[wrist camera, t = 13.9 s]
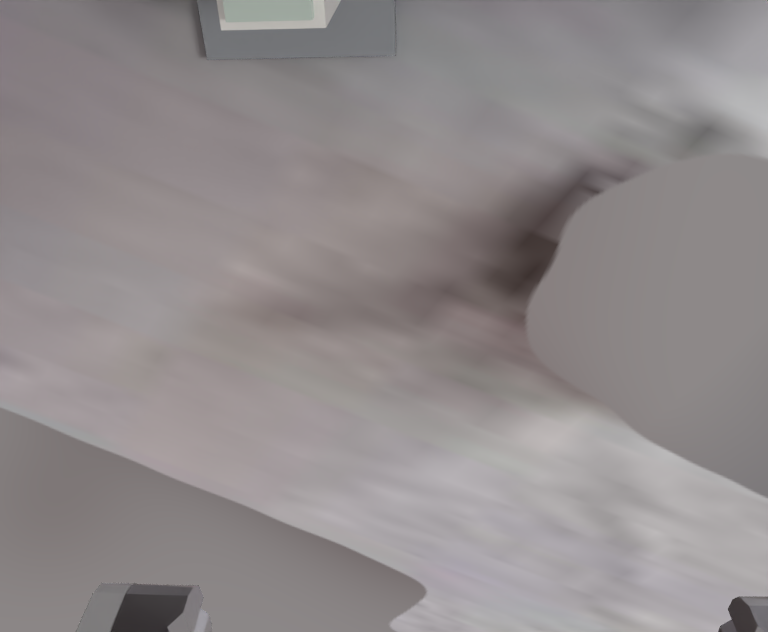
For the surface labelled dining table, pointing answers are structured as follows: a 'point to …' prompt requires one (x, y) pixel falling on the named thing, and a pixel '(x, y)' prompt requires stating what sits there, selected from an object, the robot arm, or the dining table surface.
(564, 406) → the dining table surface
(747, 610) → the robot arm
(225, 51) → the mat
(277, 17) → the block
